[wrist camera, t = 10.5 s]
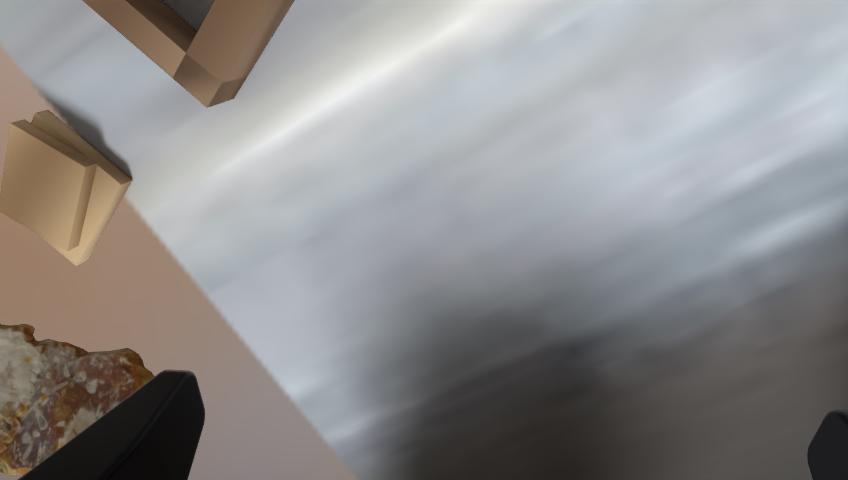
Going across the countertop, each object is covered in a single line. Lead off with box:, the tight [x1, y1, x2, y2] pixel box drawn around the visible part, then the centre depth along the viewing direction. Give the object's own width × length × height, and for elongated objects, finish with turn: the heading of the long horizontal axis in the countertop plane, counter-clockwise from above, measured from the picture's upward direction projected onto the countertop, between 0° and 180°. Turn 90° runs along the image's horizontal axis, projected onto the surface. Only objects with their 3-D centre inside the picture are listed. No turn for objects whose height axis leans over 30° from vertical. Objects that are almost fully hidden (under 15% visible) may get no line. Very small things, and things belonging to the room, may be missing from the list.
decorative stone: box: [0, 324, 154, 475], centre depth 27 cm, size 10×4×15 cm
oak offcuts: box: [0, 110, 132, 266], centre depth 23 cm, size 4×5×1 cm
